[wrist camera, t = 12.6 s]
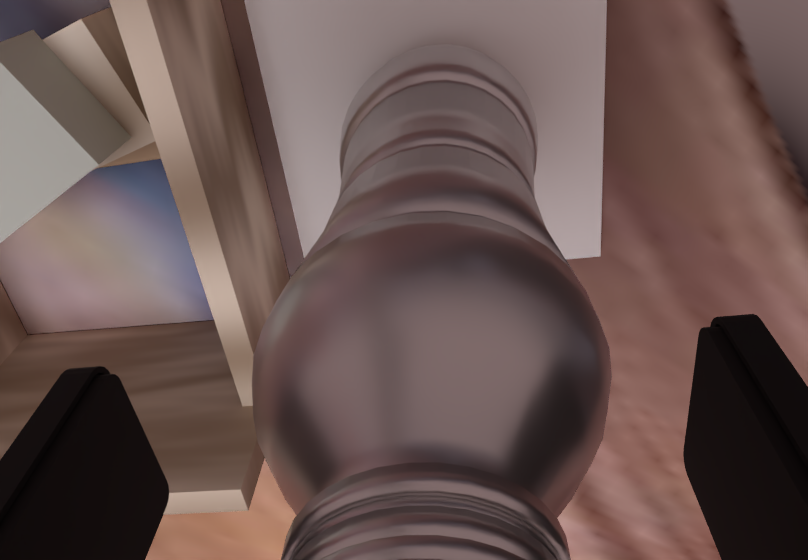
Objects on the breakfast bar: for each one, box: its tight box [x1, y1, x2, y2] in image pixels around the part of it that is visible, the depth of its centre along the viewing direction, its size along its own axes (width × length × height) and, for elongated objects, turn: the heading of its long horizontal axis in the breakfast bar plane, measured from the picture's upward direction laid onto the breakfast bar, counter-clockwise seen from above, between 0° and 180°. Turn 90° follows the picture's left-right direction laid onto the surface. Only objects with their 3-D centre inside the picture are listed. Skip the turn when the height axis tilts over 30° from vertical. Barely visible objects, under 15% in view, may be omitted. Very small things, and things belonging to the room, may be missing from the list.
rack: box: [0, 0, 290, 515], centre depth 22 cm, size 19×14×10 cm
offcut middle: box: [43, 7, 155, 170], centre depth 23 cm, size 4×9×2 cm, turn 114°
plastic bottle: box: [252, 44, 612, 560], centre depth 16 cm, size 6×7×20 cm
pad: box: [244, 0, 607, 259], centre depth 25 cm, size 12×12×1 cm
